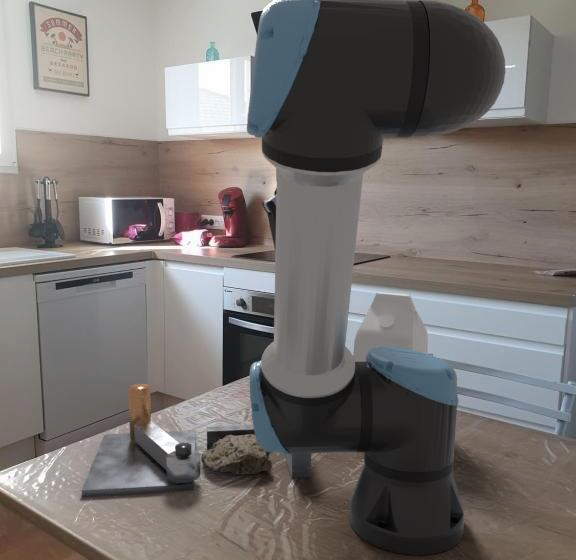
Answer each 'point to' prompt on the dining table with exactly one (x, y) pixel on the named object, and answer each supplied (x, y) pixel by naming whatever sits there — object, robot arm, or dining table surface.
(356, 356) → the milk
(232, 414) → the dining table surface
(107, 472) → the cracker base
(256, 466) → the rock
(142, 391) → the lever
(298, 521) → the dining table surface
